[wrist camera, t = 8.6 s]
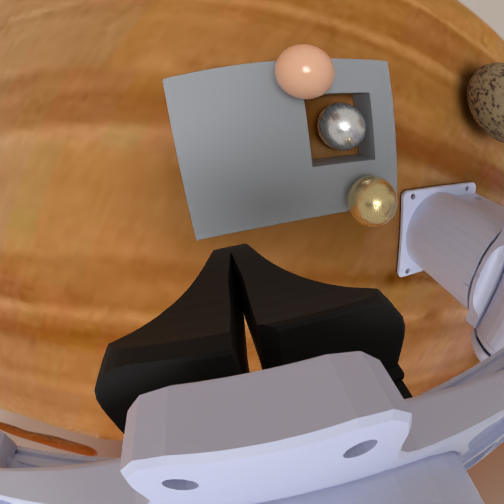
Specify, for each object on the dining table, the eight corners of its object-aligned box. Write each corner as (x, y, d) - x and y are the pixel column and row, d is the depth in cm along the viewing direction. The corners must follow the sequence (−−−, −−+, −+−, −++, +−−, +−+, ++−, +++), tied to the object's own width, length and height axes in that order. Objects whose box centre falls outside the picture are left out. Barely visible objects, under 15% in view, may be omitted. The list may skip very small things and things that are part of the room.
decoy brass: (380, 168, 18) (407, 179, 15) (380, 213, 20) (406, 230, 17) (337, 174, 18) (361, 185, 15) (340, 220, 19) (362, 239, 16)
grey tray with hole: (369, 65, 17) (387, 61, 15) (379, 193, 22) (396, 202, 19) (168, 84, 16) (162, 79, 14) (197, 226, 21) (196, 240, 18)
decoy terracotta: (317, 49, 14) (339, 38, 11) (325, 99, 16) (348, 96, 13) (264, 52, 14) (277, 39, 11) (273, 103, 16) (287, 100, 13)
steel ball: (345, 94, 18) (309, 119, 19) (346, 92, 15) (304, 121, 17) (372, 131, 18) (336, 155, 20) (378, 136, 16) (336, 163, 17)
